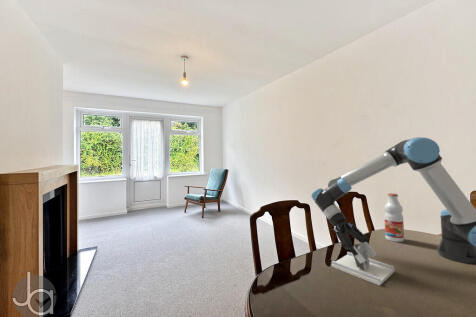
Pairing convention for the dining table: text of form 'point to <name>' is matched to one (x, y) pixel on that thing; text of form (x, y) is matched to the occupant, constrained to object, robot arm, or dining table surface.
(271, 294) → the dining table surface
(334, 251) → the dining table surface
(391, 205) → the fruit juice
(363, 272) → the white tray
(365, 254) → the electrical switch
